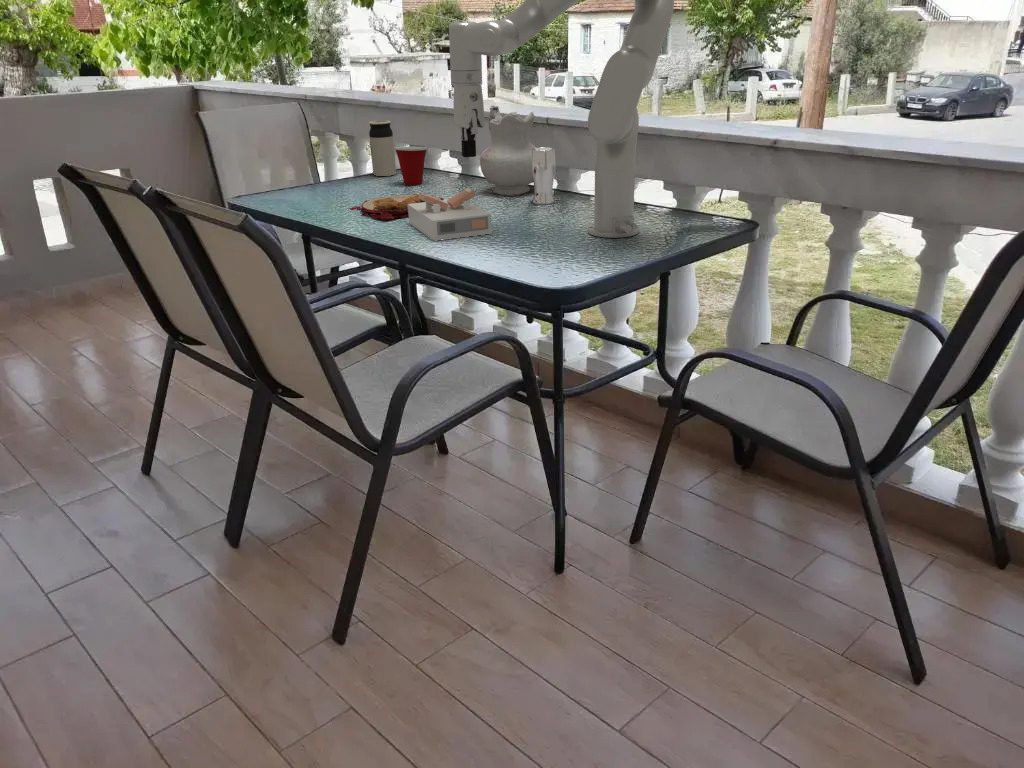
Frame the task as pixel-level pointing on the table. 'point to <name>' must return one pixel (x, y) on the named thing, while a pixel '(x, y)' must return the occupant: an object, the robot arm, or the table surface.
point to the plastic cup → (411, 164)
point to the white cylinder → (543, 174)
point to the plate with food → (390, 206)
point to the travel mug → (382, 148)
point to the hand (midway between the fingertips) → (469, 156)
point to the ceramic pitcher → (508, 153)
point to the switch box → (449, 220)
